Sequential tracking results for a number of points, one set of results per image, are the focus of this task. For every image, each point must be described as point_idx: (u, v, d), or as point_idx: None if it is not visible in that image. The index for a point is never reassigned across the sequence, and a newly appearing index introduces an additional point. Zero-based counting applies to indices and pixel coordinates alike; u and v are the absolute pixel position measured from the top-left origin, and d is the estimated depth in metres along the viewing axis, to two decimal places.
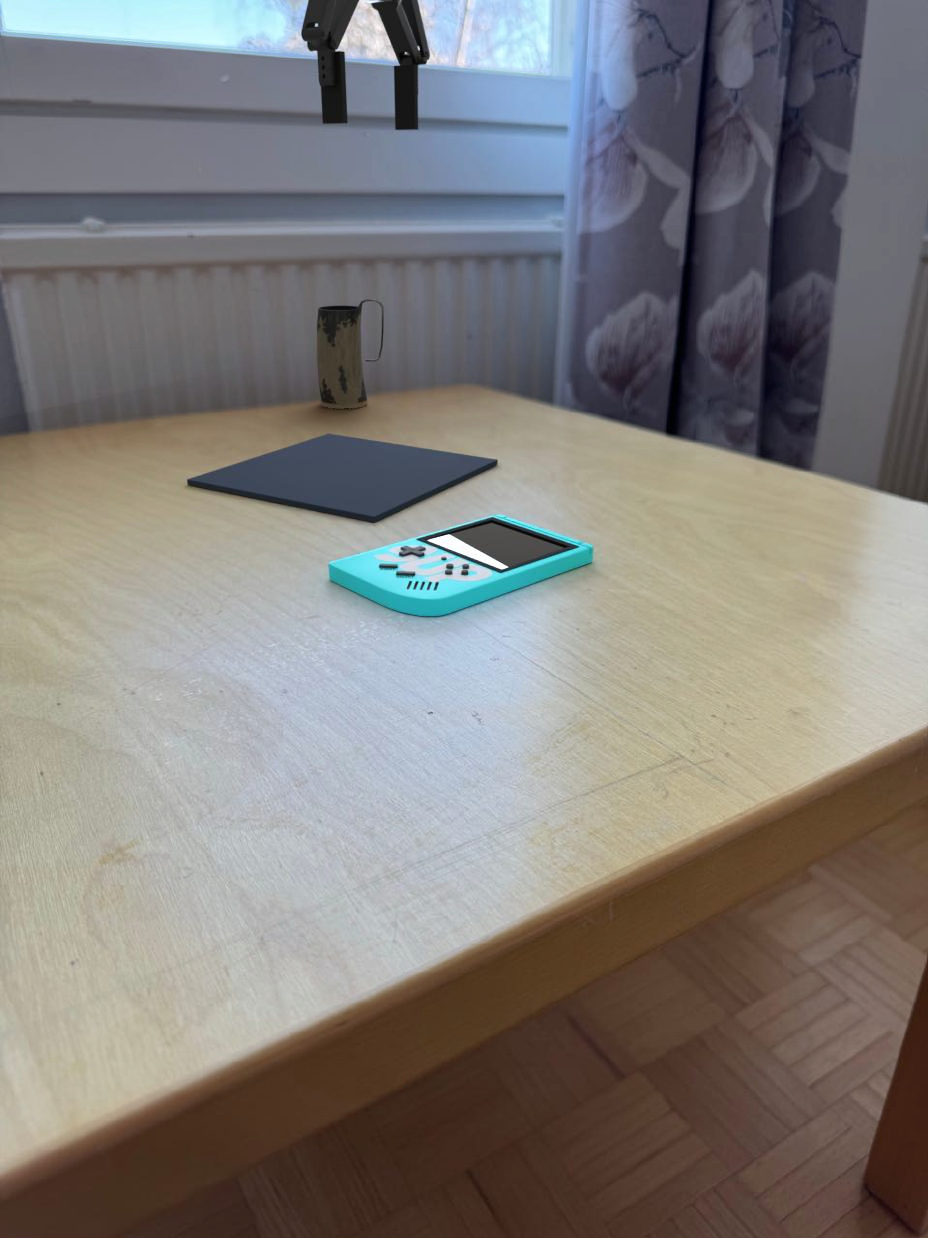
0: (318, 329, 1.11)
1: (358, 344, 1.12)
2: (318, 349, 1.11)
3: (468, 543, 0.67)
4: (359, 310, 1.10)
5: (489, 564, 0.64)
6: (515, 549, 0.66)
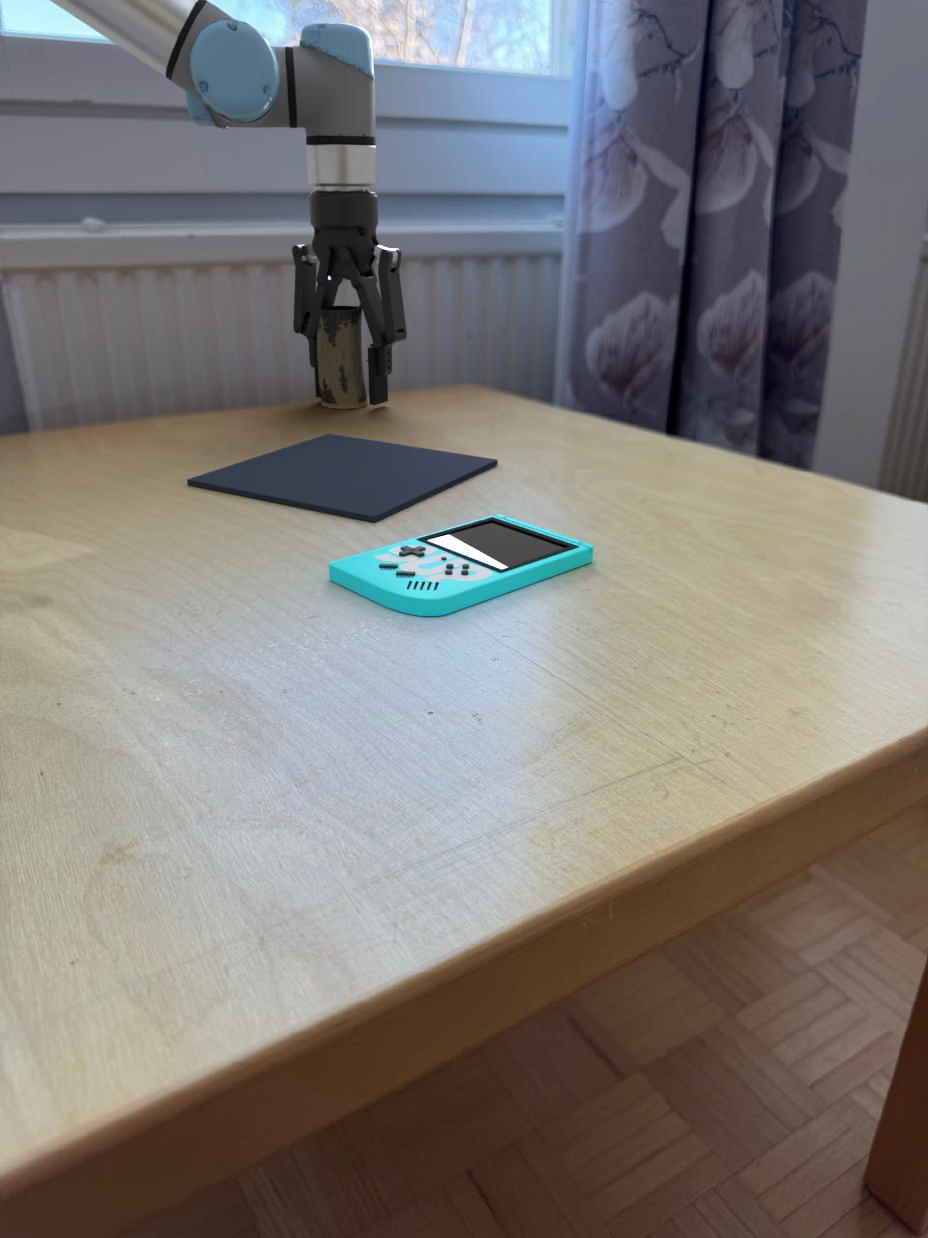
0: (319, 329, 1.10)
1: (359, 344, 1.12)
2: (318, 349, 1.11)
3: (468, 543, 0.67)
4: (360, 310, 1.10)
5: (489, 564, 0.64)
6: (515, 549, 0.66)
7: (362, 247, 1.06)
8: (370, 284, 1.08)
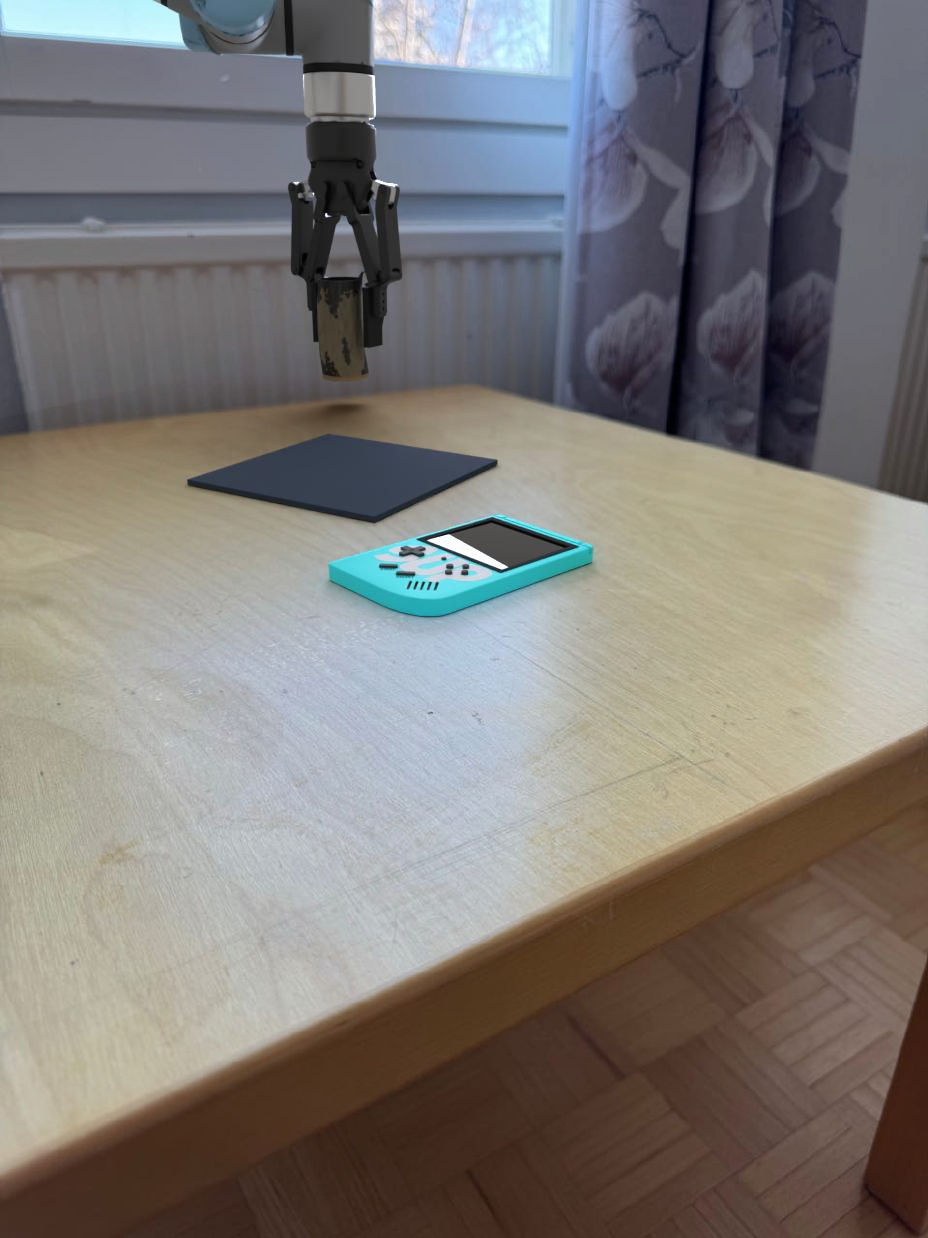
0: (319, 301, 1.09)
1: (360, 315, 1.10)
2: (319, 321, 1.10)
3: (468, 543, 0.67)
4: (360, 280, 1.09)
5: (489, 564, 0.64)
6: (515, 549, 0.66)
7: (360, 181, 1.03)
8: (367, 221, 1.06)
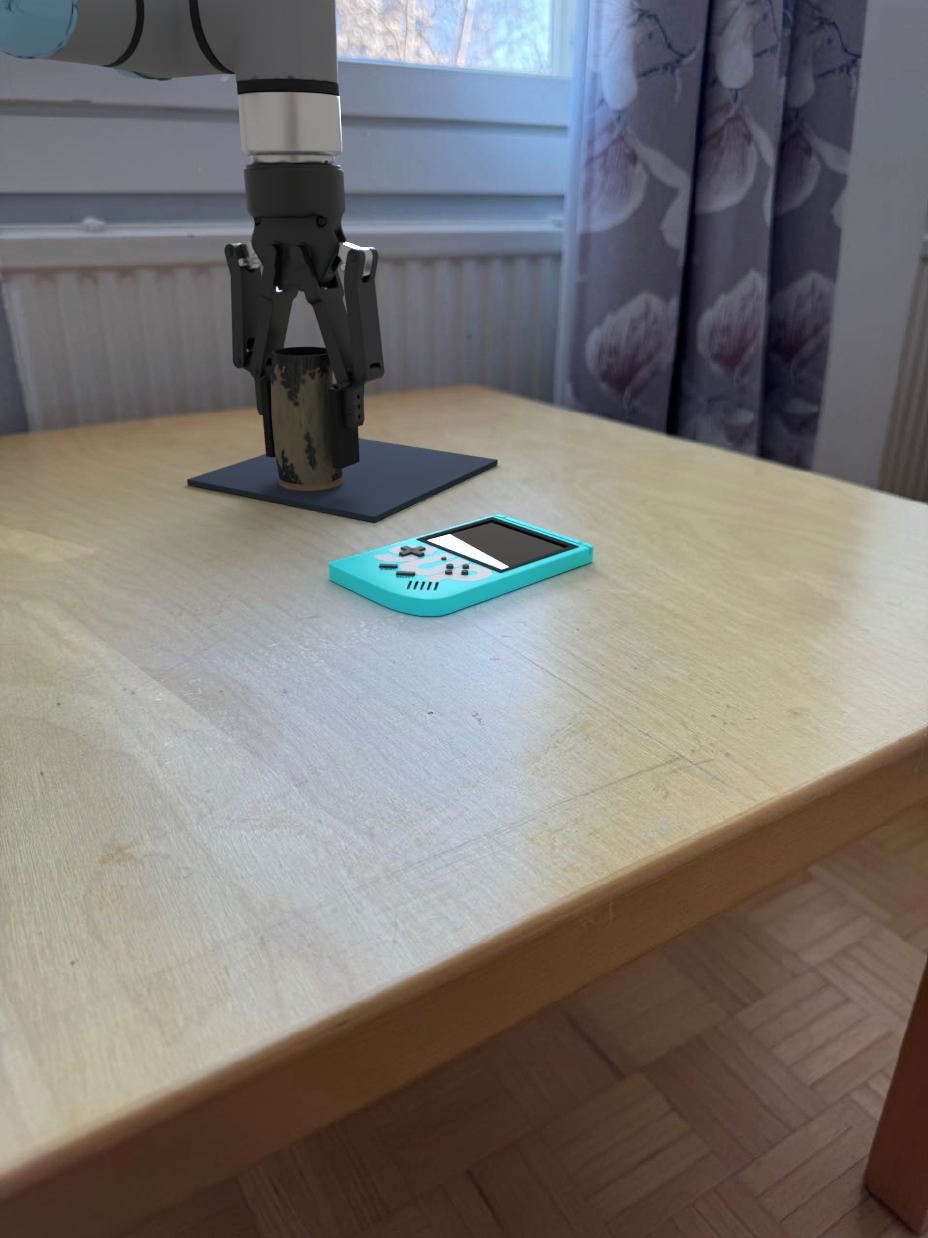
0: (273, 382, 0.78)
1: None
2: (274, 409, 0.79)
3: (468, 543, 0.67)
4: None
5: (489, 564, 0.64)
6: (515, 549, 0.66)
7: (321, 245, 0.73)
8: (333, 298, 0.76)
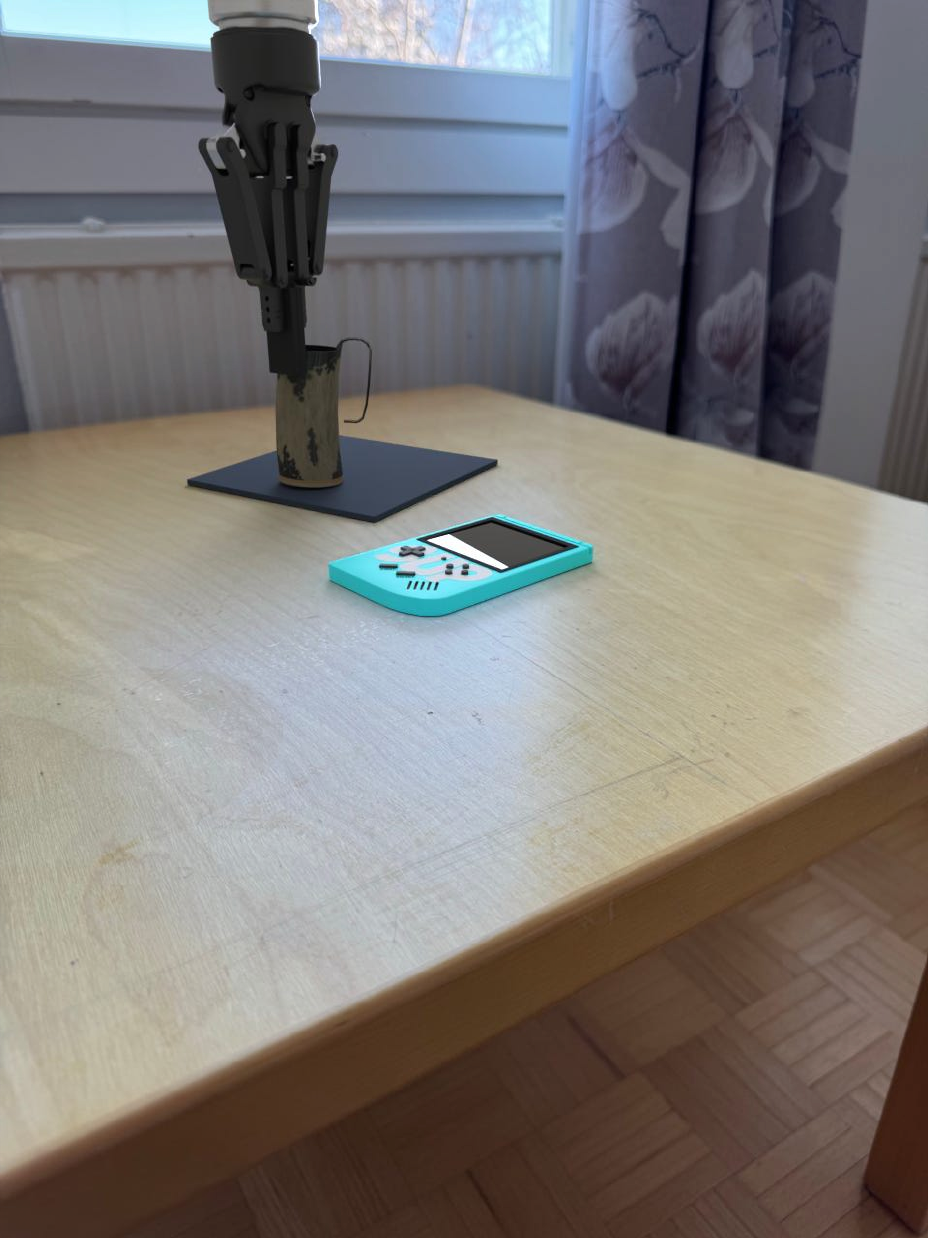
0: (280, 376, 0.79)
1: (335, 399, 0.80)
2: (278, 404, 0.79)
3: (468, 543, 0.67)
4: (339, 352, 0.79)
5: (489, 564, 0.64)
6: (515, 549, 0.66)
7: (310, 126, 0.72)
8: None
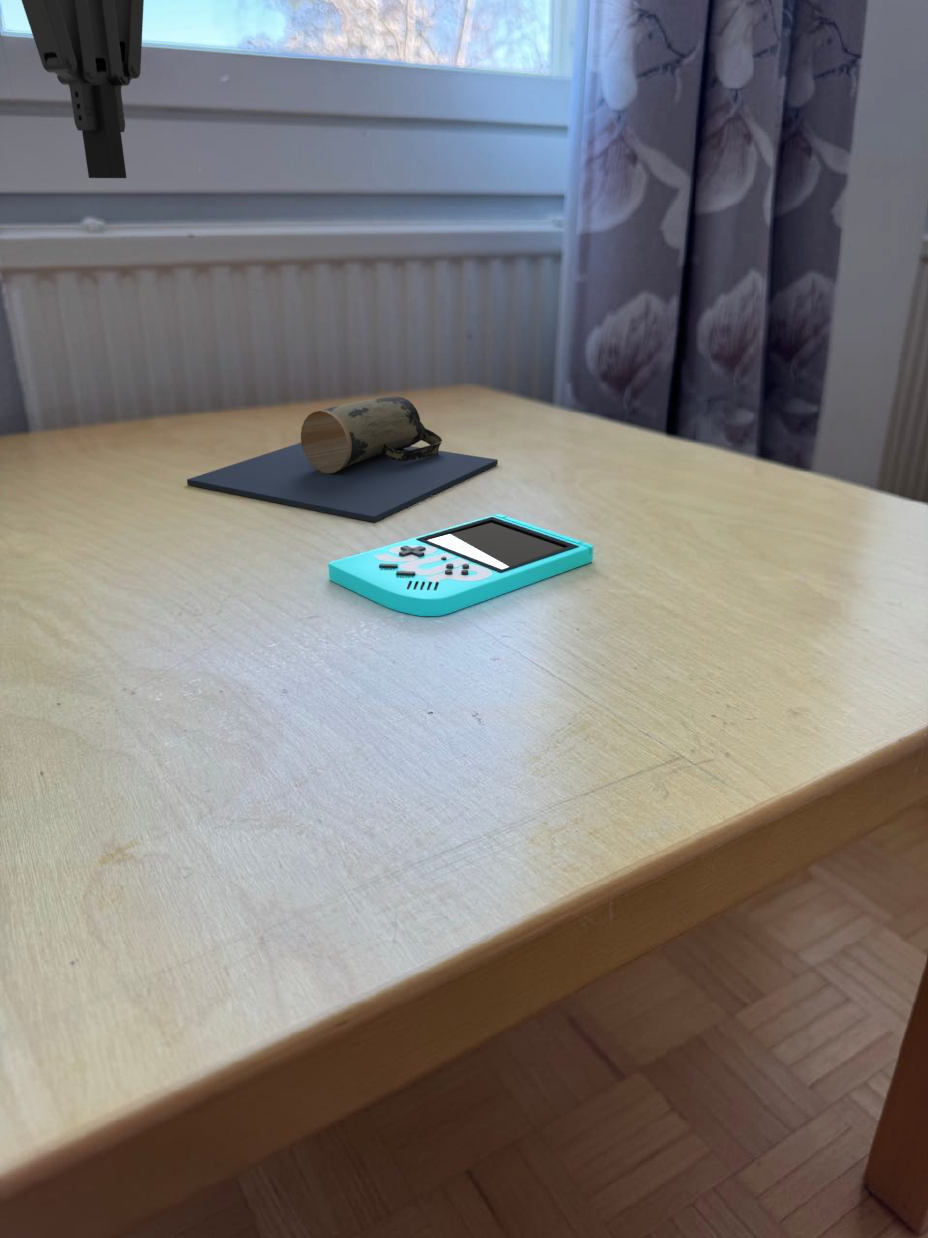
0: None
1: (393, 431, 0.89)
2: None
3: (468, 543, 0.67)
4: (419, 427, 0.92)
5: (489, 564, 0.64)
6: (515, 549, 0.66)
7: None
8: None
